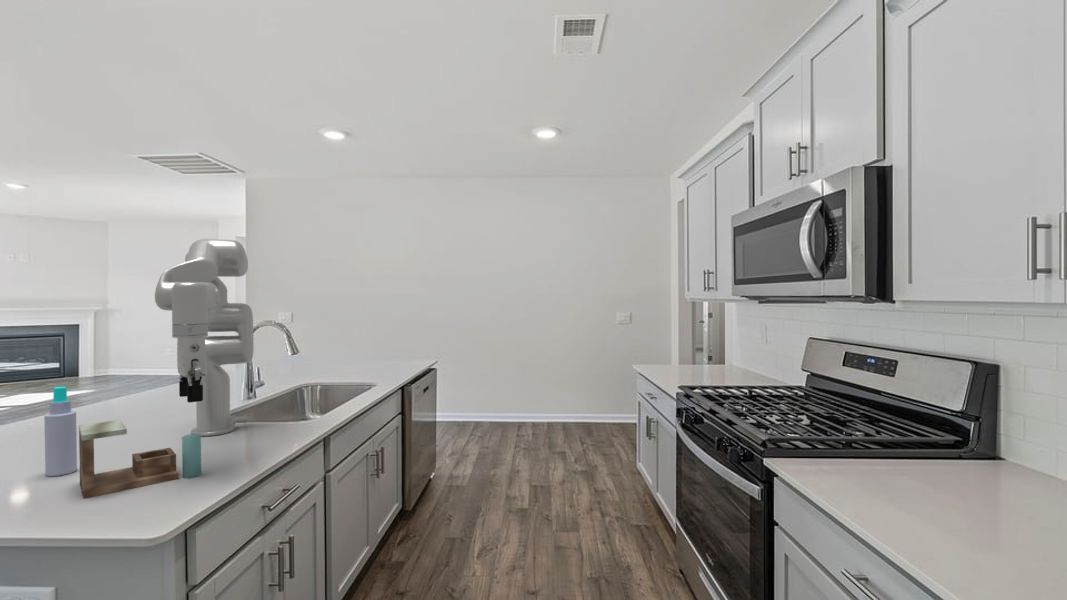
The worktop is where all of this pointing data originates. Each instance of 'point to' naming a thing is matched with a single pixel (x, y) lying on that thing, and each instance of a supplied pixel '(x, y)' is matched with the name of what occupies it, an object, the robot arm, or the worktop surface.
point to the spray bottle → (60, 436)
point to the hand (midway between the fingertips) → (190, 398)
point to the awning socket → (142, 472)
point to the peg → (191, 455)
